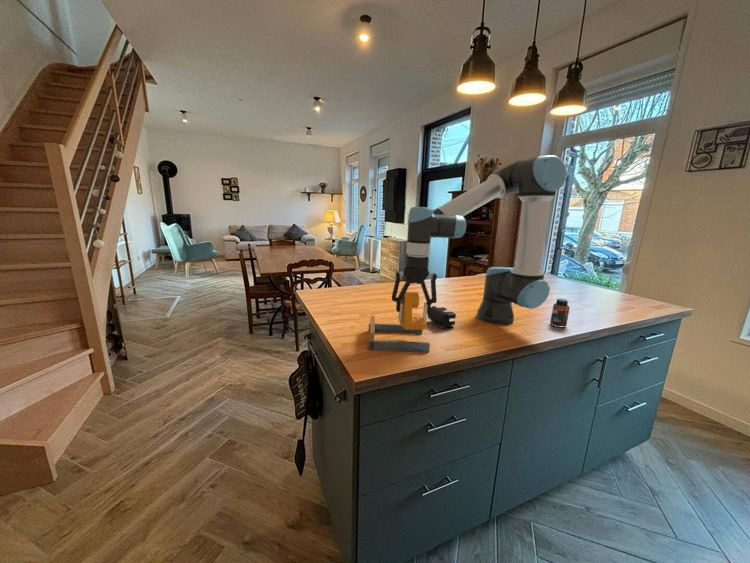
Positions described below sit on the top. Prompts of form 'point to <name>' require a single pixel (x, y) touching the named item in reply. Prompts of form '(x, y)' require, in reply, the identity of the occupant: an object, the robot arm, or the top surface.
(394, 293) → the robot arm
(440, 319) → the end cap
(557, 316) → the supplement bottle
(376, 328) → the rail
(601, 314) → the top surface
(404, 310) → the bracket
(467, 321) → the top surface
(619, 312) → the top surface
